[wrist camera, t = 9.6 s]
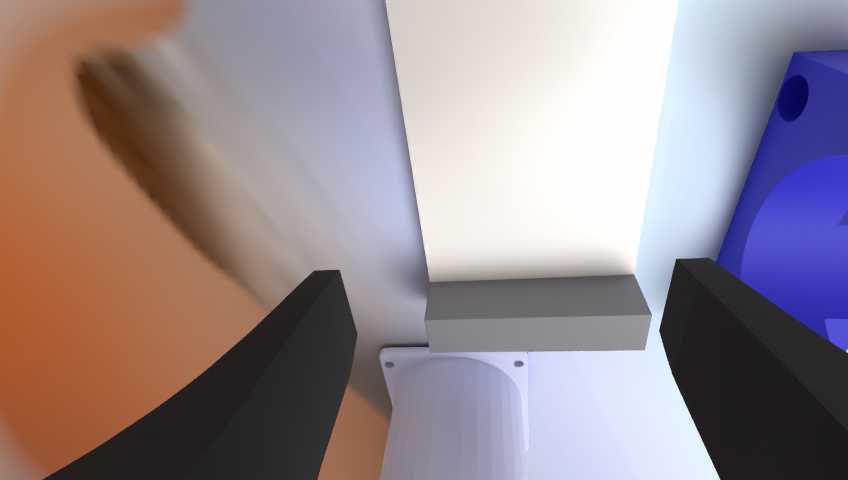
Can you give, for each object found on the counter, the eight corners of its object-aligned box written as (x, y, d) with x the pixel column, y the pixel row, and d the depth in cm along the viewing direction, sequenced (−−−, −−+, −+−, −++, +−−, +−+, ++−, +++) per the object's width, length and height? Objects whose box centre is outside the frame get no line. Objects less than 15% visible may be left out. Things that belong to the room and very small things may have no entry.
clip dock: (624, 296, 22) (644, 350, 19) (435, 302, 23) (430, 352, 20) (704, -234, 12) (772, -281, 9) (364, -168, 13) (334, -191, 10)
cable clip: (796, 315, 22) (889, 430, 17) (694, 313, 22) (756, 424, 17) (941, 44, 15) (1171, 104, 10) (790, 50, 15) (937, 110, 10)
